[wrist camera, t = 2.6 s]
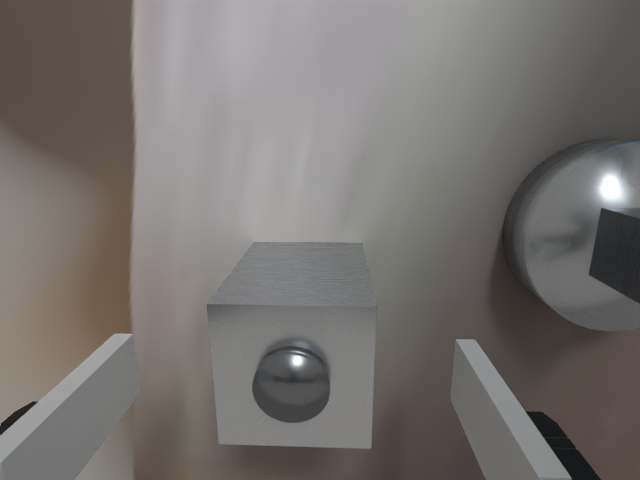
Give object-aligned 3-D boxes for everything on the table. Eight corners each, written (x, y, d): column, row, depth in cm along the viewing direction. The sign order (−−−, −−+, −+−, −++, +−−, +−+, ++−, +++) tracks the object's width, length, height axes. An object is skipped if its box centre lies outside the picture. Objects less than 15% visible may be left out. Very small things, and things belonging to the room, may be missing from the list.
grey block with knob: (254, 242, 22) (201, 311, 13) (362, 243, 22) (378, 314, 13) (258, 339, 23) (214, 456, 15) (359, 341, 23) (372, 461, 15)
